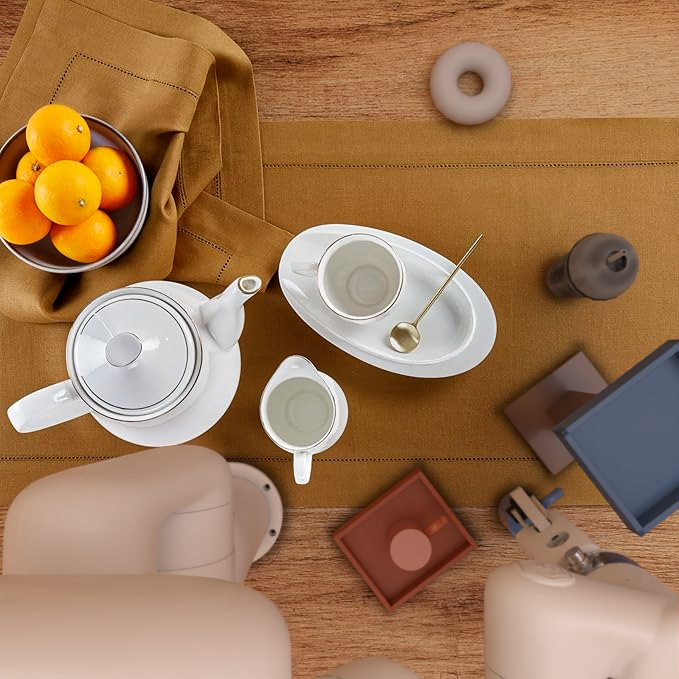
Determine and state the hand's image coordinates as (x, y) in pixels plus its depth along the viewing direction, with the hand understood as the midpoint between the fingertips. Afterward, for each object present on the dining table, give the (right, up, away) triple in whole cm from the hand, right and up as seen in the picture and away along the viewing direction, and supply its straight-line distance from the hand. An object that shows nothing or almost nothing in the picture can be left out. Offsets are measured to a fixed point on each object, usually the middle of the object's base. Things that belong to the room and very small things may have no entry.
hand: (547, 540), depth 67 cm
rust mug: (-12, -2, +12) cm, 17 cm away
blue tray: (+6, +12, -10) cm, 17 cm away
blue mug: (+1, +1, +12) cm, 12 cm away
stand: (+6, +12, +12) cm, 18 cm away
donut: (-6, +52, +14) cm, 54 cm away
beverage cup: (+6, +28, +13) cm, 32 cm away
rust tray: (-14, -3, +12) cm, 19 cm away
